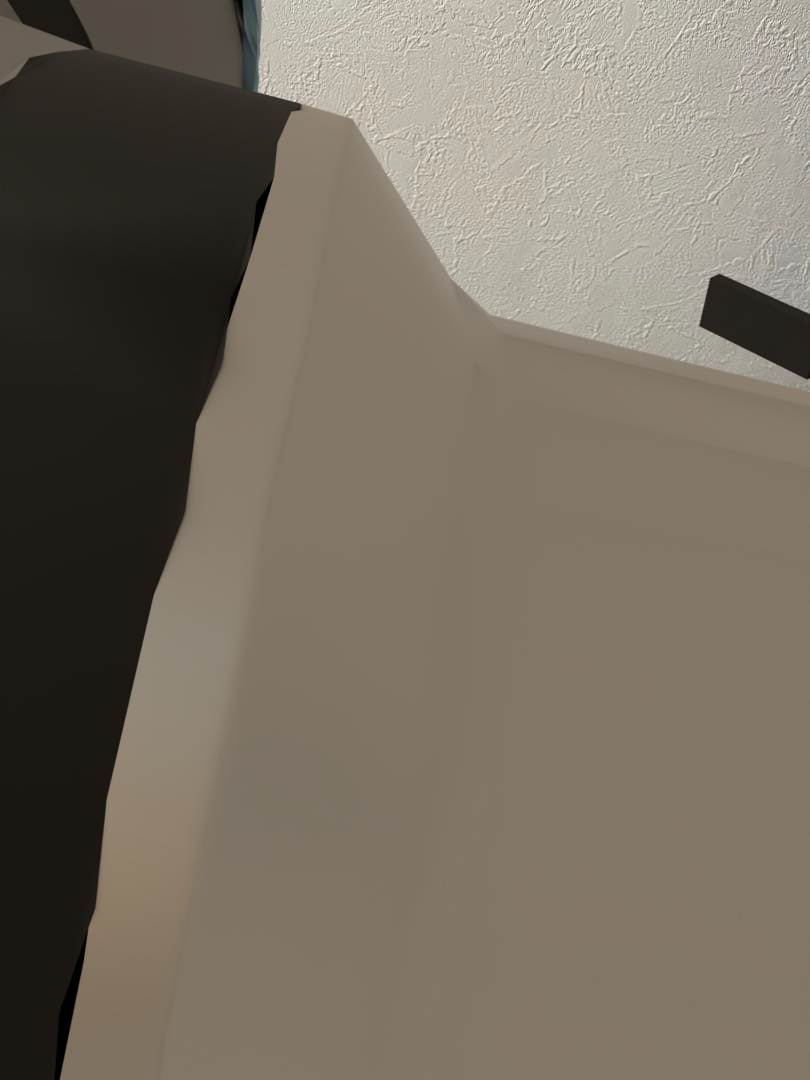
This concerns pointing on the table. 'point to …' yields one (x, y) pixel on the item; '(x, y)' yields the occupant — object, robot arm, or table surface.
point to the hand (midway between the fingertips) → (617, 342)
